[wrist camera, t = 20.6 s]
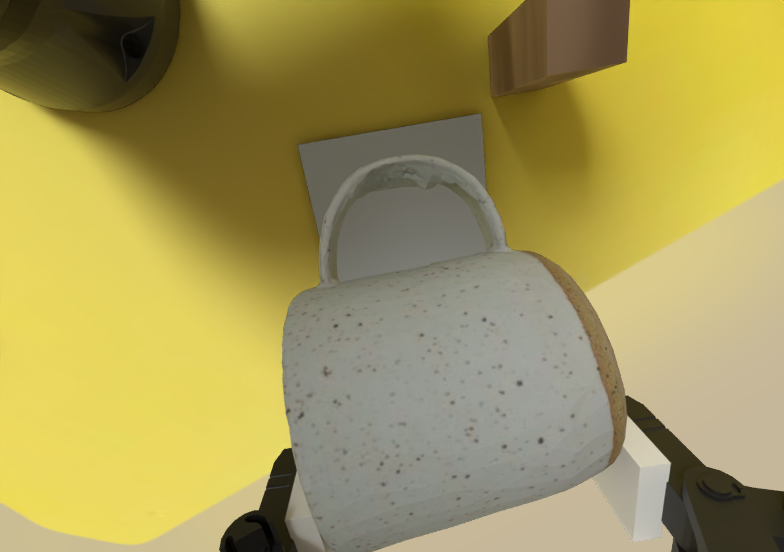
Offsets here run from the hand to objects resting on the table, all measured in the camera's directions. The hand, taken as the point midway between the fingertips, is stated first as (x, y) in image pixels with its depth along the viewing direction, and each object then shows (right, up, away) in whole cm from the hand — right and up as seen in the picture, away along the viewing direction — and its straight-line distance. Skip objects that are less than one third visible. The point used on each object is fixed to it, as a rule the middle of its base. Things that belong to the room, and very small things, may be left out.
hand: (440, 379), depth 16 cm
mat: (-1, +9, +15) cm, 18 cm away
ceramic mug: (-1, +4, -1) cm, 4 cm away
